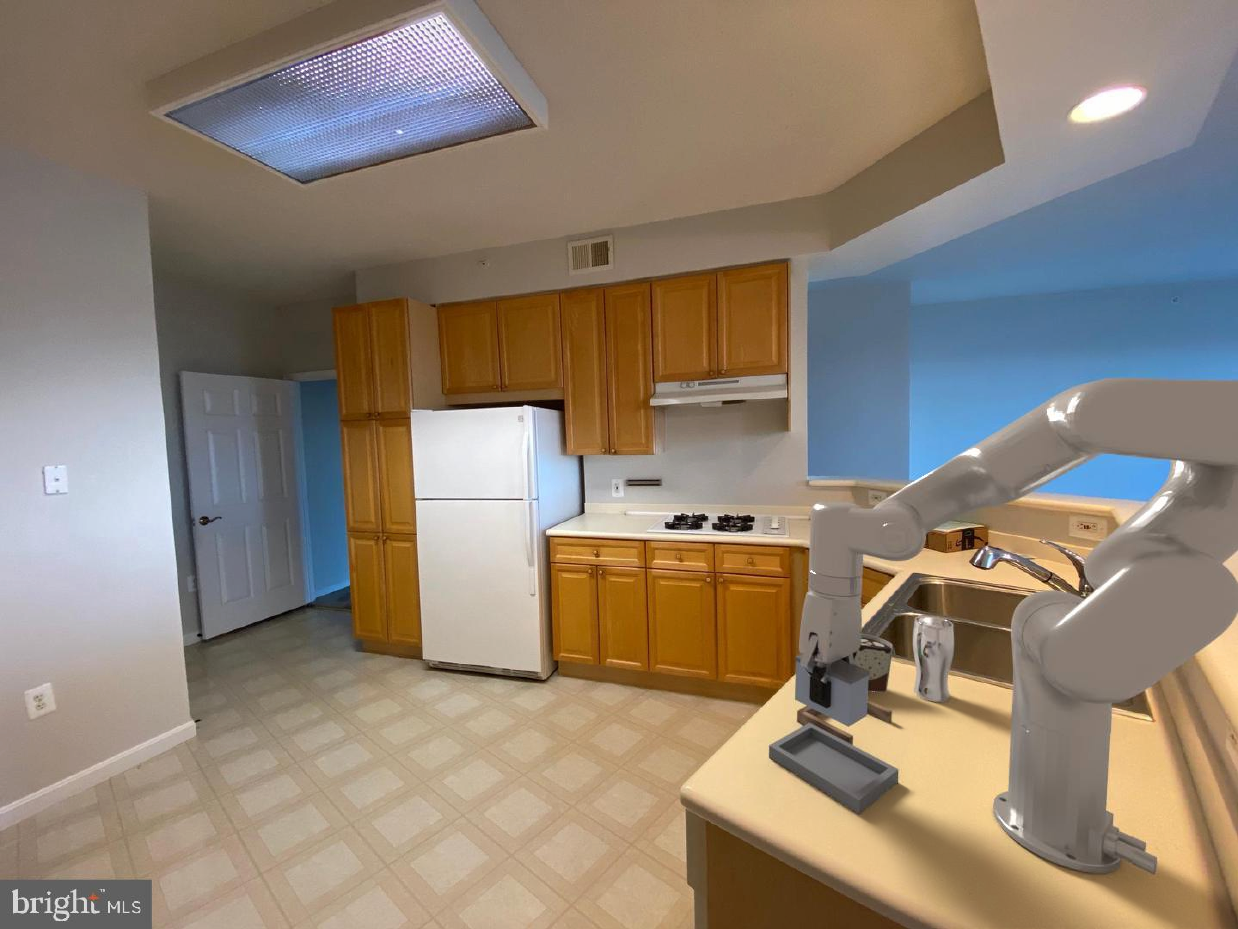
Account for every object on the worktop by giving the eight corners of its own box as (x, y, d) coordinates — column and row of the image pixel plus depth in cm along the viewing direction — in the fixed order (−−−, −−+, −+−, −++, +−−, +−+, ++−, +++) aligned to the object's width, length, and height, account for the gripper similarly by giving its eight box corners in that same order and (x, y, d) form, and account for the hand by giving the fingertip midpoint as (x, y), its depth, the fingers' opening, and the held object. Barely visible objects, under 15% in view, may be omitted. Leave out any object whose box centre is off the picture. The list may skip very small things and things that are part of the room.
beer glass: (960, 704, 96) (963, 628, 96) (924, 704, 96) (926, 628, 96) (937, 686, 103) (940, 615, 102) (904, 686, 103) (906, 615, 103)
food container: (881, 678, 107) (882, 632, 106) (894, 693, 101) (895, 645, 100) (821, 676, 108) (822, 630, 107) (830, 690, 102) (832, 642, 101)
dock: (891, 721, 91) (891, 710, 91) (849, 749, 83) (849, 737, 82) (839, 698, 99) (840, 688, 99) (796, 721, 91) (797, 710, 91)
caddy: (813, 690, 83) (814, 649, 82) (867, 716, 75) (869, 670, 75) (794, 699, 80) (795, 656, 79) (848, 727, 72) (850, 680, 72)
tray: (898, 782, 75) (898, 769, 75) (858, 814, 68) (859, 800, 68) (809, 733, 87) (809, 722, 87) (768, 757, 81) (769, 745, 80)
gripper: (842, 569, 84) (838, 673, 85) (778, 586, 74) (775, 704, 75) (887, 580, 78) (882, 692, 79) (825, 600, 68) (820, 728, 69)
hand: (830, 697), depth 77 cm, fingers closed on caddy, 5 cm apart
